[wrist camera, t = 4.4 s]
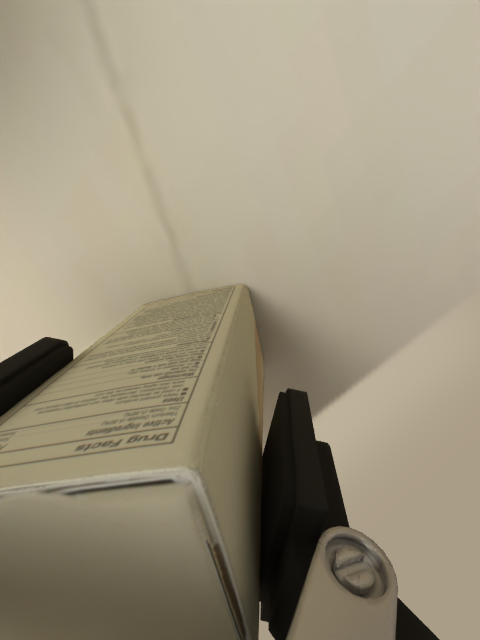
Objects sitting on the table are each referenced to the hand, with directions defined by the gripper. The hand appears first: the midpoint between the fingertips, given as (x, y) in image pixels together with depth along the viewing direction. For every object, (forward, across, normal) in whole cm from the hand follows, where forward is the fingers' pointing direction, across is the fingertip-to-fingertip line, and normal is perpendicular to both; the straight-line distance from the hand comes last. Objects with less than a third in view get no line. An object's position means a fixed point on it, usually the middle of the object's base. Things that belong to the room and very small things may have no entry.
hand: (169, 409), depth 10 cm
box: (+6, 0, 0) cm, 6 cm away
